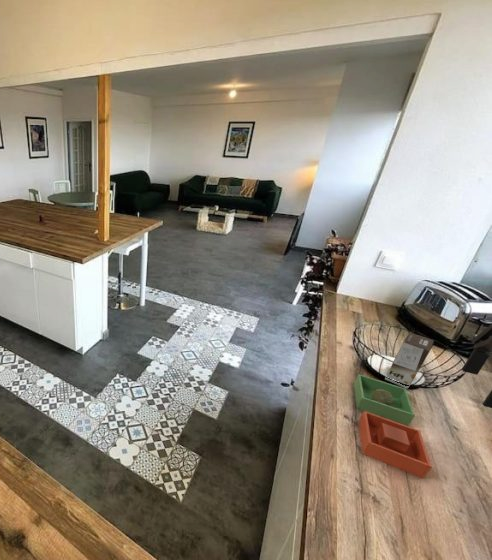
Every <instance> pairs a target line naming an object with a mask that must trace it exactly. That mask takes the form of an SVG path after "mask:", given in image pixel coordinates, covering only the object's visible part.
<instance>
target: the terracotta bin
mask: <svg viewBox="0 0 492 560" xmlns="http://www.w3.org/2000/svg"><path fill="white" fill-rule="evenodd" d="M382 423H384V424H387V425H390V426H393V427H395V428H398V429H401V430H404V431H406V433H407V437H408V440H409V444H410V446H409V448H408V449H407V451H406V452H405V454H404V455H403V454H401V453H398V452H396V451H393V450H390V449H388V448H385V447H383V446H380V445H378V444H377V441H376V436H375V435H376V433H377V431H378V429H379V428H380V426H381V424H382ZM358 427H359V429H358V430H359V436H360V437H359V438H360V443H361V444H360V445H361V452H362V455H364V456H367V457H369V458H372V459H375V460H377V461H380V462H382V463H384V464H387V465H389V466H391V467H394V468H397V469H399V470H402V471H403V472H407V473H409V474H411V475H414V476H416V477H419V478H420V479H425V477H426V476H427V475H428V474H429V472H430V471H431V469H432V468H433V466H432V462H431V460H430V457H429V455H428V451H427V448H426V444H425V442H424V439H423V436H422V433H421V430H419V429H417V428H414V427H412V426H410V425H409V426H406V425H403V424H400V423H397V422H395V421H392V420H389V419H386V418H383V417H380V416H377V415H375V414H372V413H369V412H366V411H362V414H361V416H360V418H359V420H358Z"/></svg>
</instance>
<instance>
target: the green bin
mask: <svg viewBox="0 0 492 560" xmlns="http://www.w3.org/2000/svg"><path fill="white" fill-rule="evenodd" d="M353 389H354V390H353V391H354V398H355V405H356V409H357V410H360V411H362V412H364V411H366V412H369V413H371V414H374V415H377V416H380V417H383V418H386V419H389V420H391V421H394V422H397V423H400V424H403V425H406V426H409V427H410V424H411V423H412V422H413V419H414V418H415V411H414V408H413V405H412V402H411V399H410V396H409V394H408V389H406V388H404V387H401V386H399V385H396V384H392V383H389V382H386V381H382V380H379V379H376V378H372V377H369V376H366V375H363V374H359V373H358V374H357V376H356V378H355V380H354V383H353ZM378 389H382V390H386V391H388V392H389V393H390V394H391V395H392V397H393V399H394V400H393V404H392V405H390V406H388V405H385V404H382V403H379V402H376V401H373V399H372V393H373V392H374V391H375V390H378Z"/></svg>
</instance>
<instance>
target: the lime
mask: <svg viewBox="0 0 492 560" xmlns="http://www.w3.org/2000/svg"><path fill="white" fill-rule="evenodd" d="M372 399H373V401H376V402H379V403H382V404H385V405H388V406H390V405H392V404H393V400H394V399H393V397H392V395H391V394H390V393H389V392H388V391H386V390H382V389H378V390H375V391H374V392H373V393H372Z"/></svg>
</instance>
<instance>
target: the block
mask: <svg viewBox="0 0 492 560" xmlns="http://www.w3.org/2000/svg"><path fill="white" fill-rule="evenodd" d="M375 436H376V441H377V444H378V445H380V446H383V447H385V448H388V449H390V450H393V451H396V452H398V453H401V454H403V455H404V454H405V452H406V451H407V449H408V448H409V446H410V444H409V440H408V437H407V433H406V431H404V430H401V429H398V428H395V427H393V426H390V425H387V424H384V423H382V424H381V426H380V428H379V429H378V431H377V433H376V435H375Z"/></svg>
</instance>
